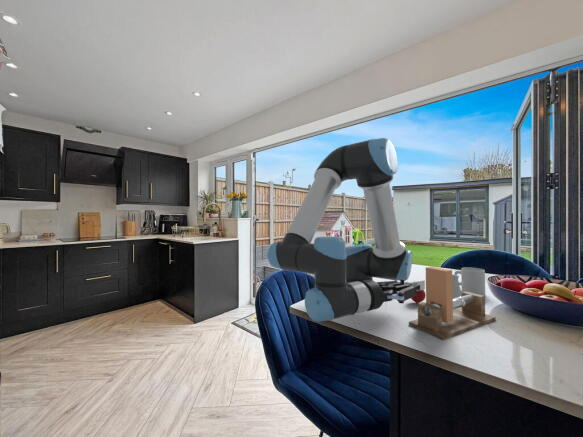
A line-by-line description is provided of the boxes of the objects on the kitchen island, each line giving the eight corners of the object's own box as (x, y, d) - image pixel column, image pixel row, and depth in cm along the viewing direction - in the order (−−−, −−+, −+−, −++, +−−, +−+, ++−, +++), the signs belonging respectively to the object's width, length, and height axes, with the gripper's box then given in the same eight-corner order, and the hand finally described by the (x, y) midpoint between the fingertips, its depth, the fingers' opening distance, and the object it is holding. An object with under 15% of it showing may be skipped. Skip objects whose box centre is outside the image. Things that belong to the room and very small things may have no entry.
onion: (425, 307, 94) (424, 286, 94) (408, 304, 97) (408, 284, 97) (426, 302, 99) (425, 282, 99) (410, 300, 102) (410, 281, 102)
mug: (489, 294, 107) (488, 269, 107) (480, 298, 103) (479, 272, 103) (459, 288, 118) (458, 265, 118) (449, 291, 113) (449, 267, 113)
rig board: (443, 339, 69) (442, 313, 69) (408, 324, 79) (408, 301, 79) (495, 320, 81) (495, 297, 81) (460, 309, 91) (460, 289, 91)
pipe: (431, 318, 73) (431, 307, 73) (421, 314, 76) (421, 304, 76) (480, 303, 84) (480, 294, 84) (470, 301, 87) (470, 292, 87)
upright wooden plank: (446, 323, 73) (446, 271, 73) (426, 315, 79) (425, 267, 79) (453, 321, 74) (452, 270, 74) (432, 313, 80) (431, 266, 80)
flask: (469, 302, 98) (468, 277, 98) (449, 301, 99) (448, 277, 99) (460, 296, 105) (460, 273, 105) (441, 296, 106) (441, 273, 106)
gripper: (346, 303, 69) (404, 291, 79) (381, 319, 57) (444, 303, 67) (345, 276, 69) (403, 267, 79) (381, 287, 57) (444, 276, 67)
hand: (422, 284), depth 73 cm, fingers closed
